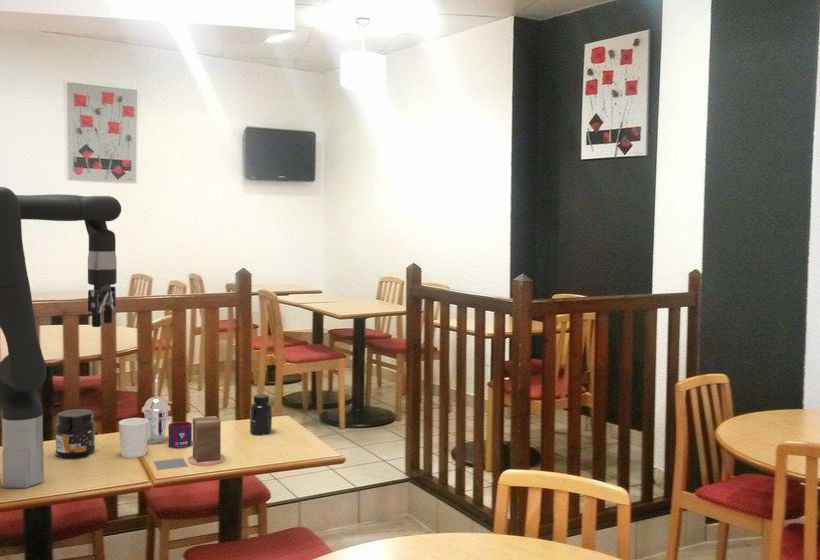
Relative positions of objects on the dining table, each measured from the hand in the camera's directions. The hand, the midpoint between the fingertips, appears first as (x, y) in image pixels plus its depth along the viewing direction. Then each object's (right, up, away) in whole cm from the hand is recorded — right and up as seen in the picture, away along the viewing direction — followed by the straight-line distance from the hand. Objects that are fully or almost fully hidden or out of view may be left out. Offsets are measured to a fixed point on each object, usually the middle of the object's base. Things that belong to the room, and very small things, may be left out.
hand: (102, 324), depth 218 cm
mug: (+17, -38, +16) cm, 44 cm away
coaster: (+20, -39, -4) cm, 44 cm away
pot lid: (+29, -39, 0) cm, 48 cm away
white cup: (+7, -38, +5) cm, 39 cm away
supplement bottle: (+39, -37, +31) cm, 62 cm away
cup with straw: (+9, -37, +20) cm, 43 cm away
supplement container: (-10, -38, +5) cm, 39 cm away
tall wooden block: (+29, -38, 0) cm, 48 cm away
